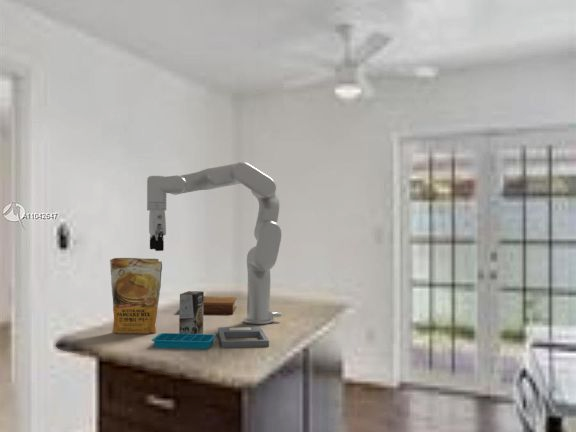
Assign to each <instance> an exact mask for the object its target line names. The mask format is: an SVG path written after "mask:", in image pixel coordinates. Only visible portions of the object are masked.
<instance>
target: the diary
mask: <svg viewBox="0 0 576 432" xmlns="http://www.w3.org/2000/svg"><path fill="white" fill-rule="evenodd" d="M236 300H237V296H207V295H205V296H204V305H203V315H234V313H235V312H236V309H237V306H236Z"/></svg>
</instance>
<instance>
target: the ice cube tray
mask: <svg viewBox="0 0 576 432" xmlns="http://www.w3.org/2000/svg"><path fill="white" fill-rule="evenodd" d="M216 337H217V335H216V334H211V333H210V334H209V333H208V334H207V333H203V334H179V332H178V333H177V332H175V333H173V332H170V333H169V332H161V333H158V334H157V335H155V336H154V337H153V338H152V339H151V341H152V342H153V343H154V345H153V346H154V348H157V349H158V348H159V349H181V348H183V349H185V350H186V349H187V350H208V349H210V348H211V346H212V345H213V344H214V342H215V341H214V340H215V338H216ZM183 349H182V350H183Z"/></svg>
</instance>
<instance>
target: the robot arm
mask: <svg viewBox="0 0 576 432" xmlns="http://www.w3.org/2000/svg"><path fill="white" fill-rule="evenodd" d="M146 184H147V185H146V195H147V196H146V201H147V202H146V211H149V215H148V233H149V249H150V250H155V252H161V251H162V252H164V247H165V245H164V243H165V242H164V236H166V234H167V222H166V219H167V218H166V213H165V212H166V211H167V194H170V195H175V196H176V195H177V196H178V195H181V194H186V193H187V194H188V193H192V192H197V191H207V190H208V191H209V190H214V189H218V188H223V187H224V188H225V187H229V186H234V185H240V184H241V185H243V186H244V187H246V188H247V189H249V190H250V191H251V193H252V195H253V196H254V197H255V198H256V199H257V201H258V213H257V217H256V223H255V225H254V230H253V235H254V237H255V239H256V245H255V246H253V247H252V248H250V250H248V252H247V255H246V267H247V297H246V299H247V301H246V303H247V307H246V311H247V312H246V313H247V314H246V317H244V318H243V322H244V323H246V324H251V325H266V324H272V323H273V322H274V318H281V317H282V312H277V311H276V312H274V311H272V310H271V269H272V268H274V267H275V266H276V265H275V264H276V262H277V259H278V254H279V250H280V246H281V241H282V229H281V227H280V225H279V224H278V221H279V214H280V199H279V196H278V194H277V193H276V192H277V184H276V182H275V181H274V180H273V179H272V178H271V177H270V176H269V175H267V174H265V173H264V172H262V171H260V170H259V169H257V168H256V167H254V166H253V165H251V164H249V163H248V162H245V161H244V162H243V161H241V162H237V163H231V164H225V165H220V166H215V167H209V168H205V169H202V170H200V171H197V172H192V173H187V174H182V175H170V176H164V175H149V176H148V177H147V180H146Z"/></svg>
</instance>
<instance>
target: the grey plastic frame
mask: <svg viewBox="0 0 576 432" xmlns="http://www.w3.org/2000/svg"><path fill="white" fill-rule="evenodd" d="M217 335H218V338H219V341H220V342H219V343H220V345H221V348H222V349H224V348H254V347H255V348H257V347H258V348H261V347H270V340H269V338H268V336H267V335H266V334H265V332H264V331H263V329H262V327H261V326H224V327H223V326H222V327H221V326H218V327H217ZM227 338H228V339H229V338H259V339H243V340H241V339H239V340H227Z"/></svg>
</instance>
